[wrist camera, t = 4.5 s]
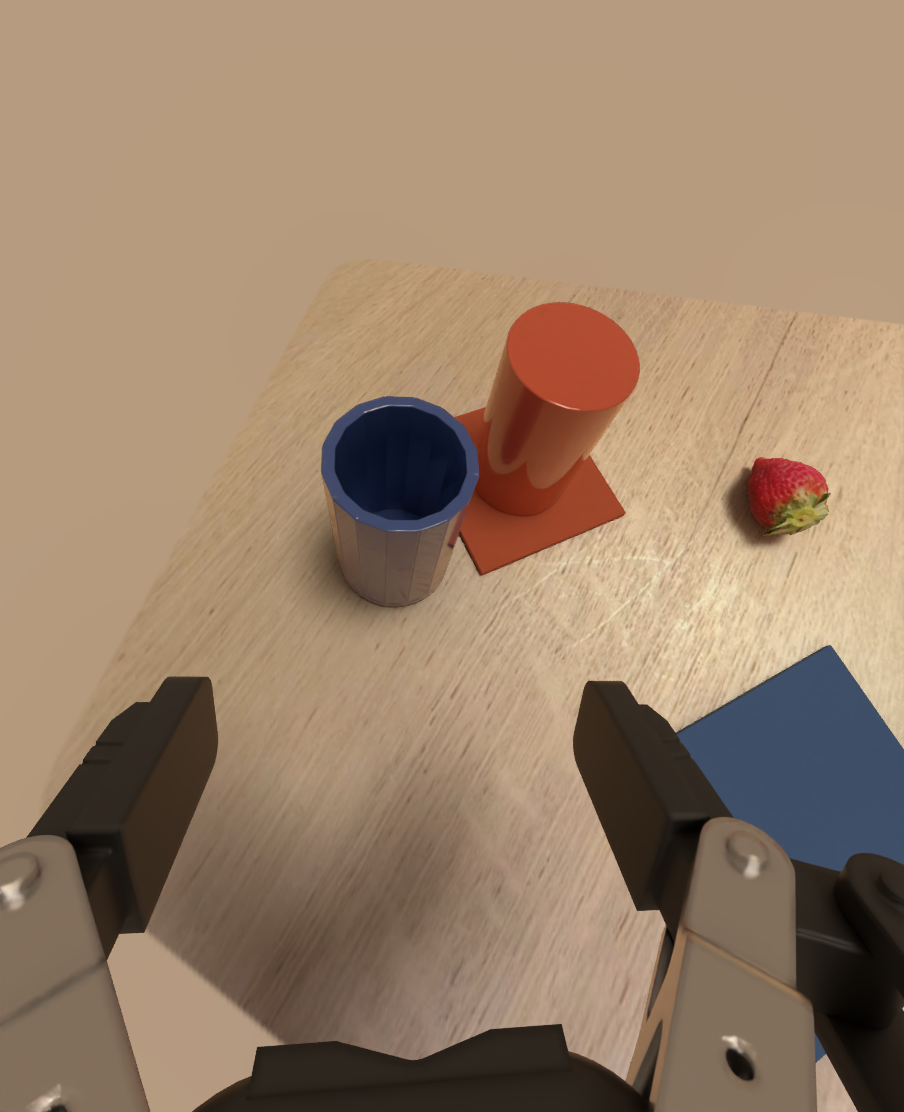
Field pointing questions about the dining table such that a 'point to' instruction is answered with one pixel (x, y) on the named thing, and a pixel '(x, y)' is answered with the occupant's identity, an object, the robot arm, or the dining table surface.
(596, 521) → the red mat
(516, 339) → the tall red cylinder
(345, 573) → the blue cup
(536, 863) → the dining table surface
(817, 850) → the blue mat
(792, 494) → the fruit
